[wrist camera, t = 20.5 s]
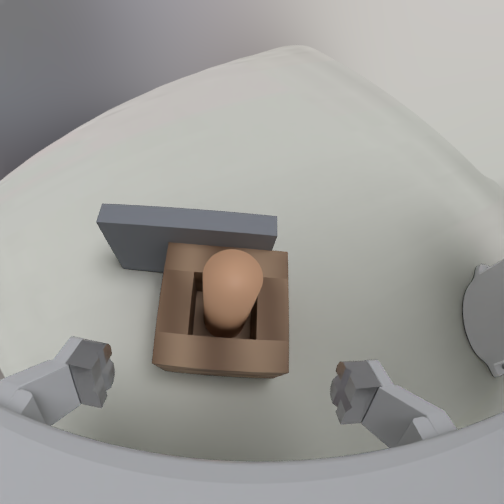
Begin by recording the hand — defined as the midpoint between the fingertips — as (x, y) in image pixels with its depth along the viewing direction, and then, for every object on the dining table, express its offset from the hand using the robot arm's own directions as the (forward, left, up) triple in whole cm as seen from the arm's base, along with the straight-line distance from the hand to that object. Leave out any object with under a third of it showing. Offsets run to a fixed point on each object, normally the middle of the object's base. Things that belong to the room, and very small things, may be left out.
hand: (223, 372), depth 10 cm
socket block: (0, -7, -21) cm, 22 cm away
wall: (+4, -13, -21) cm, 25 cm away
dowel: (0, -7, -19) cm, 20 cm away
